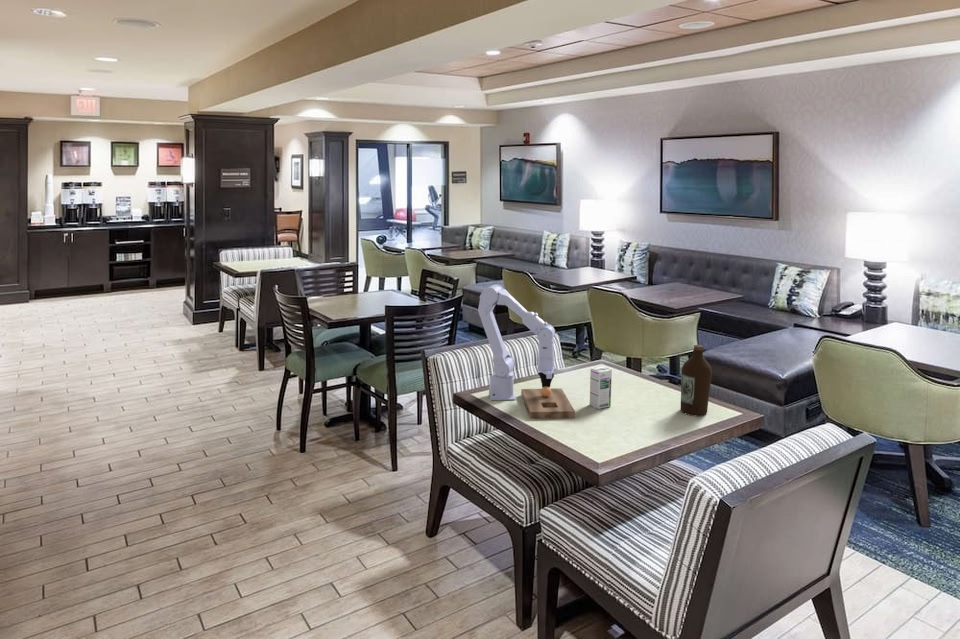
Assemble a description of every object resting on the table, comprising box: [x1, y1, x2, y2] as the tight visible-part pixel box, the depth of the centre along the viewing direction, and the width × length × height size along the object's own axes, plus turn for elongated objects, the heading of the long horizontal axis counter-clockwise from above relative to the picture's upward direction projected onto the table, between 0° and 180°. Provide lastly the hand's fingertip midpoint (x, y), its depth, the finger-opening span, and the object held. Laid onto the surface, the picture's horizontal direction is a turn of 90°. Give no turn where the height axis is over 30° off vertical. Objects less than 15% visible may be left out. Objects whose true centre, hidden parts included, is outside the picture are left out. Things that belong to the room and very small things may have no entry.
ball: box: [540, 386, 552, 397], centre depth 256 cm, size 4×4×4 cm
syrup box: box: [589, 366, 613, 410], centre depth 252 cm, size 6×6×14 cm
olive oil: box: [679, 344, 713, 416], centre depth 245 cm, size 11×11×25 cm
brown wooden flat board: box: [520, 387, 576, 419], centre depth 253 cm, size 16×26×2 cm, turn 4°
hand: (546, 391), depth 258 cm, fingers closed, pressing on ball
